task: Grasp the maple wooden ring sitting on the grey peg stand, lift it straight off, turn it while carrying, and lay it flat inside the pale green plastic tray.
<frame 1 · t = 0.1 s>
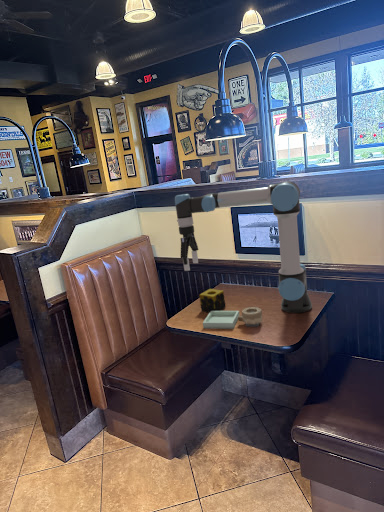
hand: (191, 266, 192), 28 cm above the table, fingers open, 13 cm apart
ring: (252, 320, 181), point 2 cm above the table, touching grey peg stand
grey peg stand: (253, 324, 181), on the table
tray: (221, 322, 188), on the table
yellow cube with holes: (213, 309, 207), on the table
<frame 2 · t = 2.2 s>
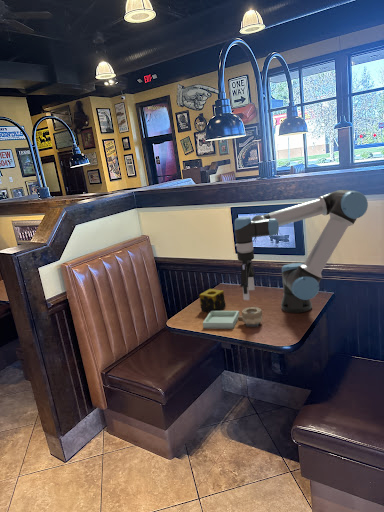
hand: (249, 294, 178), 15 cm above the table, fingers open, 13 cm apart
nothing on the table moved.
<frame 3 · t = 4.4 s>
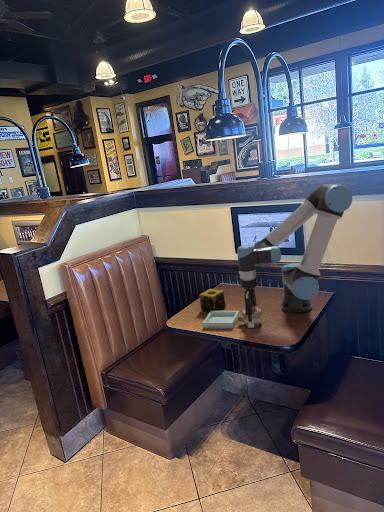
hand: (252, 322, 181), 1 cm above the table, fingers closed on ring, 9 cm apart
ring: (252, 320, 181), point 2 cm above the table, touching gripper, grey peg stand
everything else where it was.
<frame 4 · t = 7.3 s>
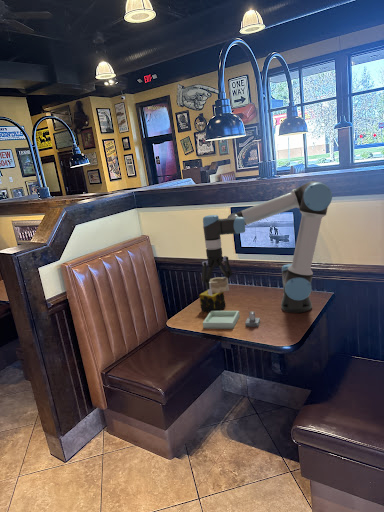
hand: (218, 292, 185), 16 cm above the table, fingers closed on ring, 9 cm apart
ring: (218, 289, 184), point 17 cm above the table, touching gripper
everything else where it was.
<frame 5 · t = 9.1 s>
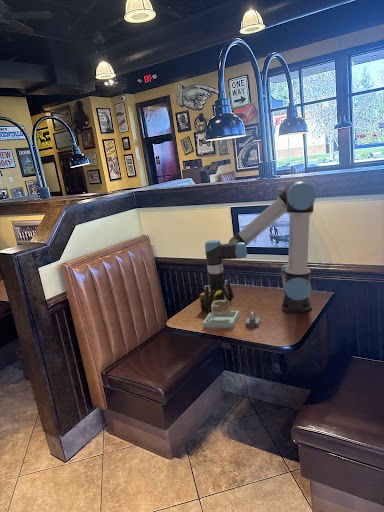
hand: (220, 315, 188), 4 cm above the table, fingers closed on ring, 9 cm apart
ring: (220, 312, 187), point 5 cm above the table, touching gripper
everything else where it was.
when the fingers open (1 cm above the table, at t = 10.4 s): ring drops 2 cm, resting on tray.
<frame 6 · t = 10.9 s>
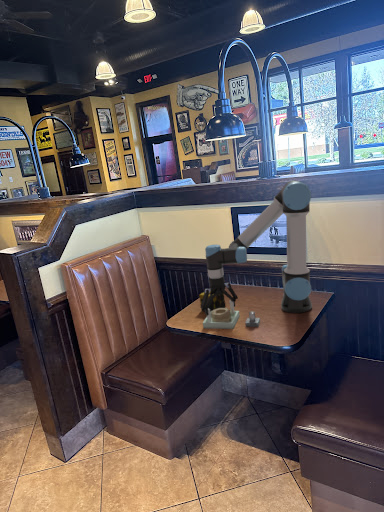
hand: (221, 317, 188), 3 cm above the table, fingers open, 13 cm apart
ring: (221, 320, 188), point 1 cm above the table, touching tray
everything else where it was.
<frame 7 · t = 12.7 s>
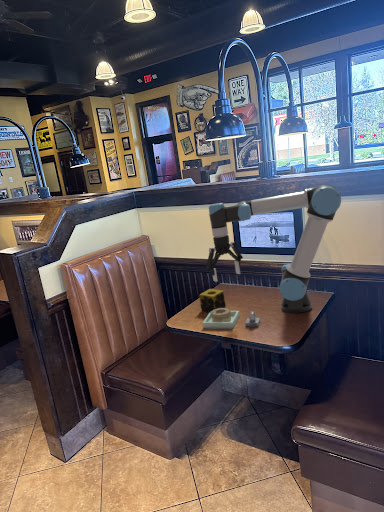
hand: (227, 277, 186), 22 cm above the table, fingers open, 13 cm apart
nothing on the table moved.
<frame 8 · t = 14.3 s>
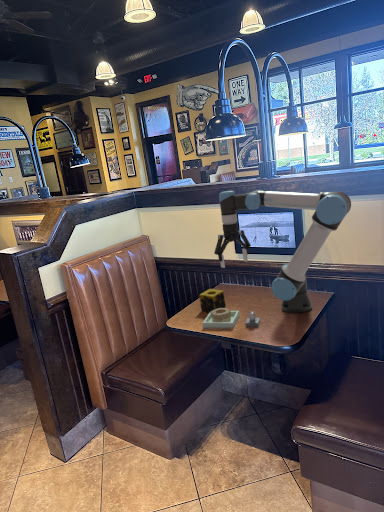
hand: (234, 264, 190), 27 cm above the table, fingers open, 13 cm apart
nothing on the table moved.
at the end: ring inside the target area on the tray (0.0 cm from its centre), point 0.8 cm above the tray's base; ring tilted 0°; the gripper is holding nothing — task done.
